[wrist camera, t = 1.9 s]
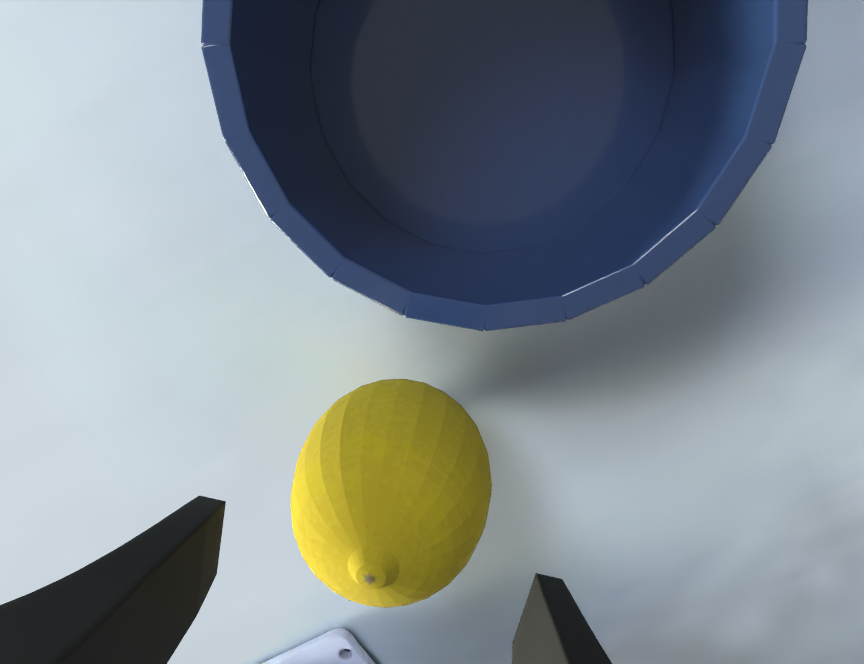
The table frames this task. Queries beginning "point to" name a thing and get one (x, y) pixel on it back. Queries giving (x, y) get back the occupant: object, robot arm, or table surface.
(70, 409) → the table surface
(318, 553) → the lemon
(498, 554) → the table surface
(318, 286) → the table surface
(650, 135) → the blue mug
